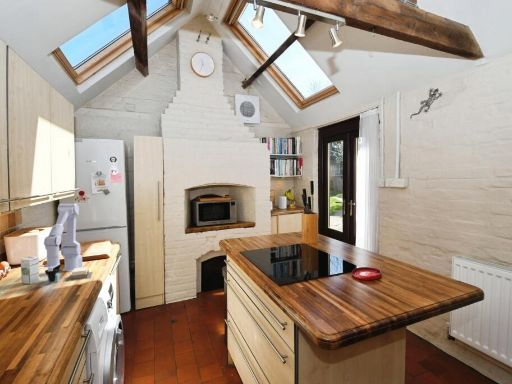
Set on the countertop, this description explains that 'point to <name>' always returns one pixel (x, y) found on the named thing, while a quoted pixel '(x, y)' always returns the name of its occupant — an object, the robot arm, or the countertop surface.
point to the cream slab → (79, 271)
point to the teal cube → (55, 278)
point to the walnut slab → (80, 276)
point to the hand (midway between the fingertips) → (53, 279)
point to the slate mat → (81, 278)
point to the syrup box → (29, 270)
